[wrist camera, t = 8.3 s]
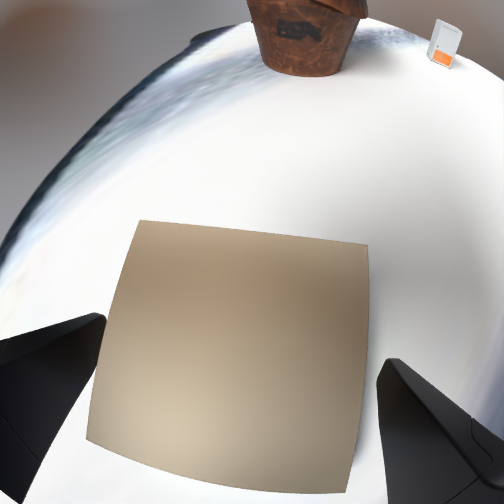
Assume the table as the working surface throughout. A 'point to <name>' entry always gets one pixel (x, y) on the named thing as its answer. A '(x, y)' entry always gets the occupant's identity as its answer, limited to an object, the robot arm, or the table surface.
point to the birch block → (235, 357)
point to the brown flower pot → (305, 33)
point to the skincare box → (444, 43)
